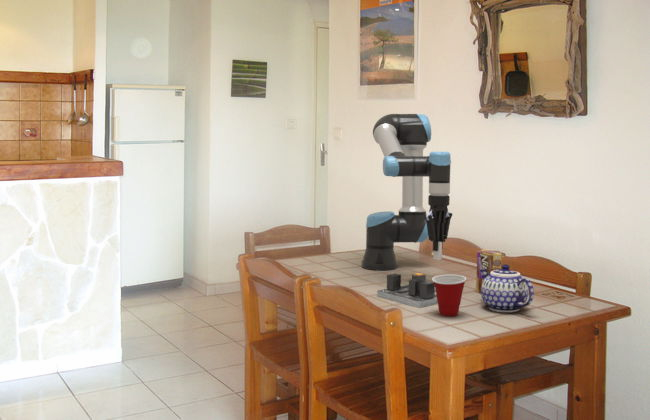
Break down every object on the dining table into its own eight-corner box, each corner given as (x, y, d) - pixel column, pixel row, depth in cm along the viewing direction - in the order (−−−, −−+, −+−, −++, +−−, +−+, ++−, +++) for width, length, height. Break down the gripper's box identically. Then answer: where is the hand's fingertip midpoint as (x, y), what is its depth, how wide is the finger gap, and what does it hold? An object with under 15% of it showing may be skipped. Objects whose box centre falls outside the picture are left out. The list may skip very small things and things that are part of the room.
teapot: (548, 315, 222) (550, 270, 220) (510, 321, 215) (513, 274, 213) (497, 297, 244) (498, 256, 242) (462, 301, 238) (463, 259, 236)
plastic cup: (423, 312, 224) (424, 275, 223) (450, 308, 229) (451, 272, 228) (445, 320, 215) (446, 282, 213) (472, 316, 220) (473, 279, 219)
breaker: (419, 286, 250) (419, 272, 249) (425, 288, 248) (425, 273, 247) (411, 288, 247) (411, 273, 247) (417, 290, 245) (418, 275, 244)
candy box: (500, 295, 247) (502, 253, 245) (491, 296, 245) (492, 254, 243) (484, 290, 255) (486, 249, 253) (475, 291, 253) (476, 250, 251)
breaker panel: (415, 288, 258) (416, 269, 257) (458, 298, 243) (459, 278, 242) (377, 296, 245) (377, 276, 244) (419, 307, 230) (420, 286, 229)
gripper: (442, 193, 257) (441, 256, 259) (418, 194, 248) (417, 260, 251) (458, 194, 251) (457, 259, 254) (435, 196, 243) (433, 263, 245)
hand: (437, 259), depth 252 cm, fingers closed
